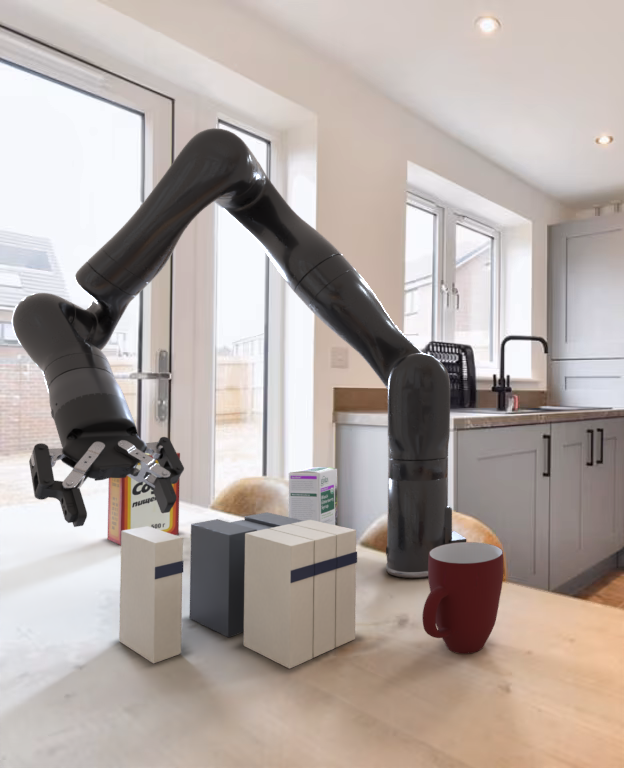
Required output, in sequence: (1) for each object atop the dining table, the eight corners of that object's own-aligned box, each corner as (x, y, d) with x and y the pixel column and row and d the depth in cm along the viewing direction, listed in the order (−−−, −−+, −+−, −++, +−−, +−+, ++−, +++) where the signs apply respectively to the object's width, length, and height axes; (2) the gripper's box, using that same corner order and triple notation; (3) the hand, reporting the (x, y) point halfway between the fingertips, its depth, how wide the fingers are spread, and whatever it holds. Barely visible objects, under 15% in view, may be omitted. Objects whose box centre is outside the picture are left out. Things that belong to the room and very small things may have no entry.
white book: (146, 632, 61) (148, 525, 61) (182, 653, 56) (184, 537, 56) (118, 641, 59) (120, 530, 59) (153, 664, 54) (155, 543, 54)
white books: (309, 620, 64) (310, 519, 65) (356, 639, 59) (357, 529, 60) (243, 645, 58) (244, 533, 58) (289, 669, 53) (291, 546, 53)
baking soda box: (164, 529, 108) (165, 448, 108) (178, 534, 104) (180, 451, 104) (107, 539, 100) (109, 452, 100) (120, 545, 96) (122, 455, 97)
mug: (470, 683, 50) (470, 575, 51) (398, 665, 54) (399, 564, 54) (514, 637, 60) (515, 546, 60) (451, 624, 63) (452, 538, 64)
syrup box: (319, 562, 87) (320, 471, 87) (287, 559, 88) (288, 470, 88) (338, 552, 92) (339, 467, 93) (307, 549, 94) (308, 466, 94)
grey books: (266, 593, 73) (267, 509, 73) (306, 609, 68) (307, 518, 68) (189, 618, 65) (190, 523, 65) (228, 637, 60) (229, 535, 60)
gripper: (24, 390, 61) (56, 504, 54) (163, 391, 73) (204, 485, 66) (10, 435, 64) (38, 549, 57) (146, 429, 75) (183, 523, 69)
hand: (127, 515), depth 61 cm, fingers open, 8 cm apart
